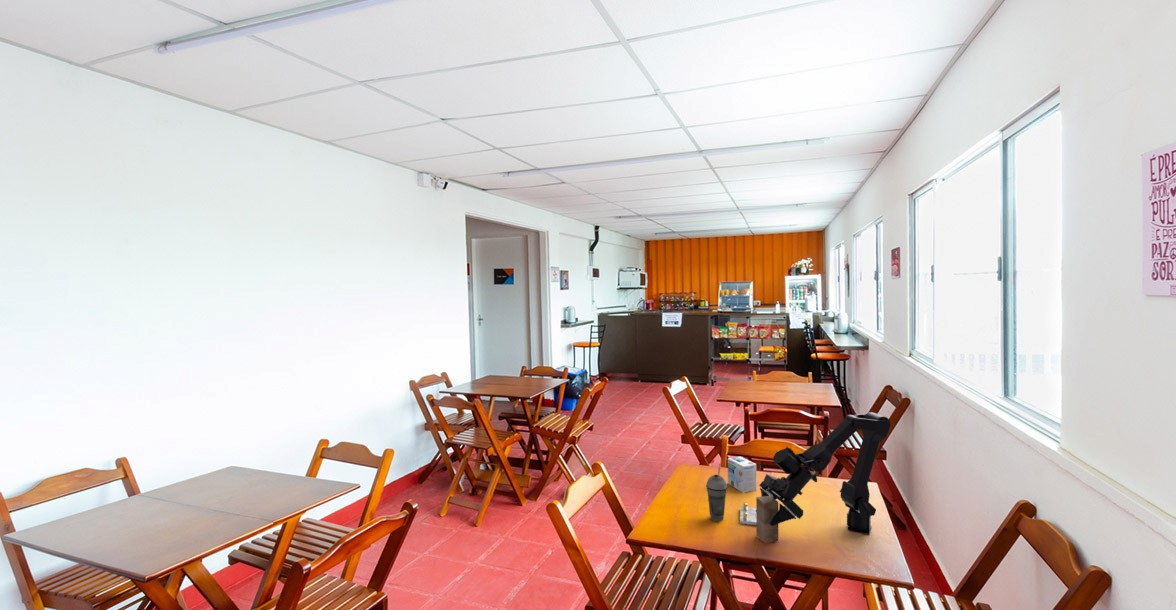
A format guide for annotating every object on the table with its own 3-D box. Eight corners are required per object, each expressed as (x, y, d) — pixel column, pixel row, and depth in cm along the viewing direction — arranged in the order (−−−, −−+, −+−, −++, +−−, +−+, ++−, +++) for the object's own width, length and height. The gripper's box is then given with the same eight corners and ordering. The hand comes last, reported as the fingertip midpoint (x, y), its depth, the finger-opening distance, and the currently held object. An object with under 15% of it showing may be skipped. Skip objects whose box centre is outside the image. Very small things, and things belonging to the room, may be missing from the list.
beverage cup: (710, 512, 193) (709, 458, 192) (730, 516, 190) (729, 461, 189) (703, 520, 187) (703, 464, 186) (724, 525, 183) (723, 468, 182)
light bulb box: (727, 483, 220) (726, 458, 220) (740, 481, 223) (740, 455, 222) (743, 493, 210) (743, 466, 210) (757, 490, 213) (757, 463, 212)
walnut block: (770, 534, 176) (770, 495, 176) (778, 541, 171) (778, 501, 171) (756, 535, 175) (756, 496, 175) (764, 543, 171) (763, 503, 170)
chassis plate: (774, 512, 192) (774, 504, 192) (776, 527, 181) (776, 518, 180) (740, 509, 196) (740, 500, 195) (740, 523, 184) (740, 514, 184)
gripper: (764, 457, 182) (734, 491, 181) (794, 476, 164) (761, 515, 162) (785, 478, 184) (756, 512, 183) (817, 499, 165) (784, 538, 164)
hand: (763, 518), depth 173 cm, fingers open, 9 cm apart
